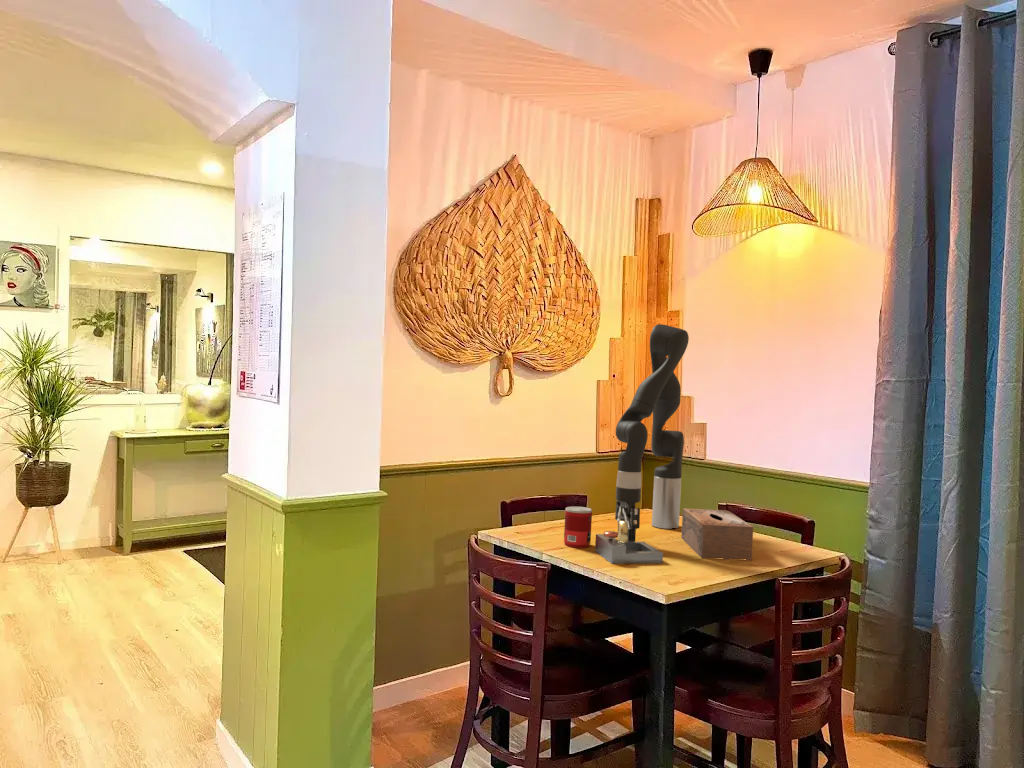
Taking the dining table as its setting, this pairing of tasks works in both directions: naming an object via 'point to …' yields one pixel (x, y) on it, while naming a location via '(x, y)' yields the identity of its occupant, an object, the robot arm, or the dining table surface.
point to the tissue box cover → (717, 534)
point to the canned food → (577, 527)
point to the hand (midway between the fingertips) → (626, 538)
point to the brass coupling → (623, 531)
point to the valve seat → (625, 550)
